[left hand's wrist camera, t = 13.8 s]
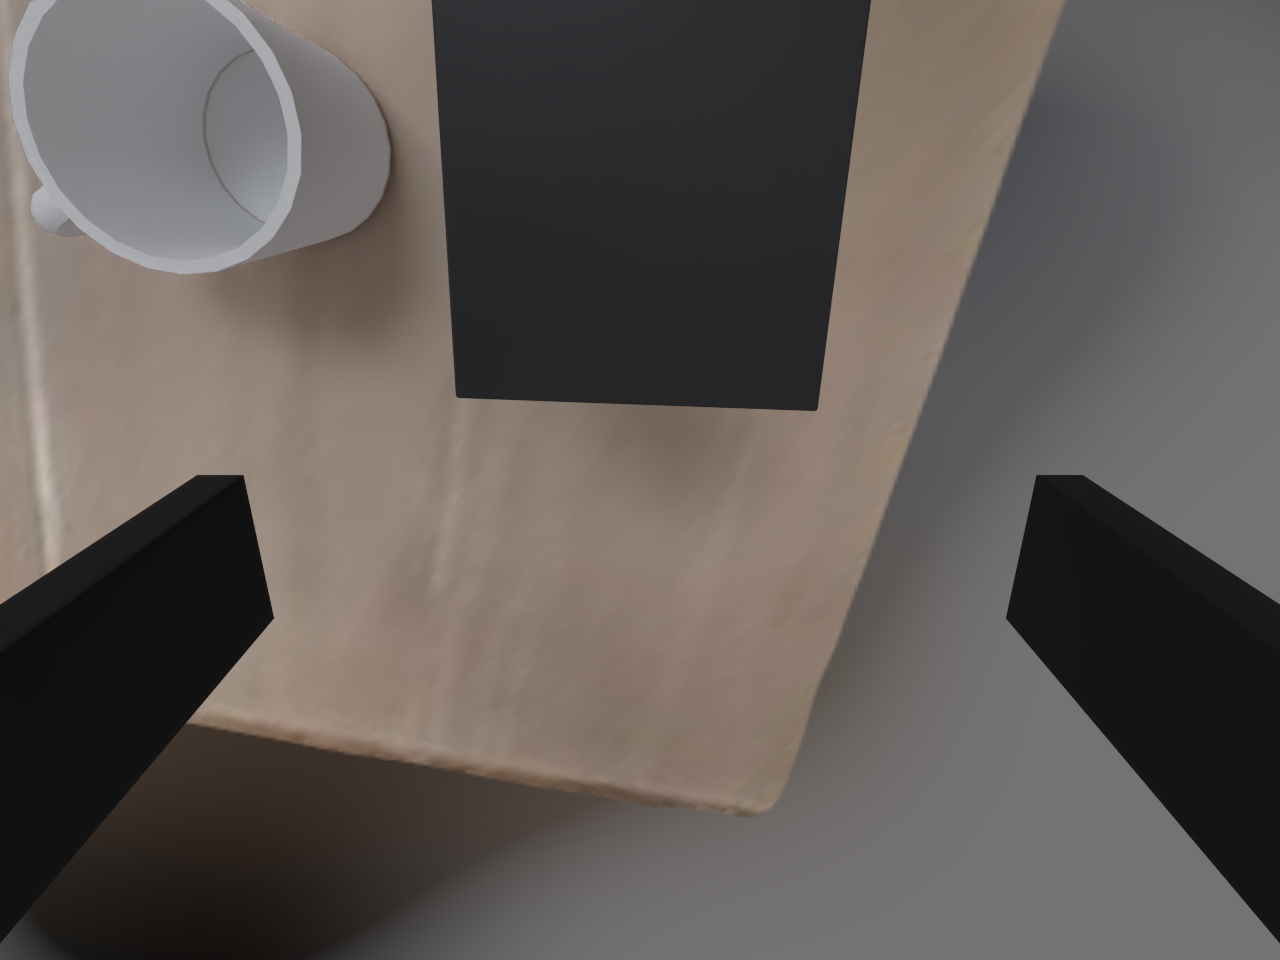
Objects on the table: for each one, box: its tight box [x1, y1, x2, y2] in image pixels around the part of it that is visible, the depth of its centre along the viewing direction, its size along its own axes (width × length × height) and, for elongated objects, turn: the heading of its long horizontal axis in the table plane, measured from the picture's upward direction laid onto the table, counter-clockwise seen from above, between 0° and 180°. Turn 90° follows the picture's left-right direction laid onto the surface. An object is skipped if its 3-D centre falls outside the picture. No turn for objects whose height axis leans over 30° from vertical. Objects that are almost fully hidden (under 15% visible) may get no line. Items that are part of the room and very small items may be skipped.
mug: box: [8, 0, 391, 274], centre depth 28 cm, size 11×9×10 cm
